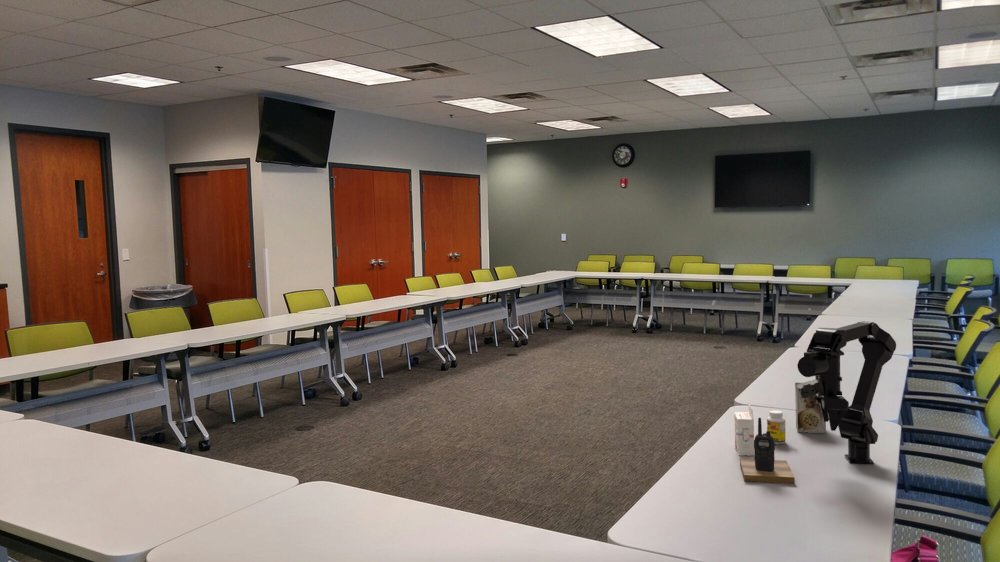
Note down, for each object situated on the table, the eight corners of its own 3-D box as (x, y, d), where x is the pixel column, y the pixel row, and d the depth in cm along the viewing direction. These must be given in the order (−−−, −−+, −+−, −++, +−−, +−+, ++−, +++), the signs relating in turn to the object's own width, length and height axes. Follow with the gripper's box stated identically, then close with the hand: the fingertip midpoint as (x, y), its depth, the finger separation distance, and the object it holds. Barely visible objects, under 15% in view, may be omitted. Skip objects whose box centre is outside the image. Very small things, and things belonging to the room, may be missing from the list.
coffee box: (823, 428, 233) (823, 382, 232) (826, 433, 227) (825, 386, 226) (795, 427, 236) (794, 381, 235) (796, 432, 230) (796, 386, 229)
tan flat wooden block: (739, 465, 200) (739, 458, 200) (786, 467, 197) (786, 460, 197) (744, 482, 187) (744, 474, 187) (794, 484, 184) (794, 477, 183)
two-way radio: (753, 470, 190) (752, 418, 189) (755, 465, 194) (754, 414, 193) (774, 472, 188) (773, 420, 187) (776, 467, 192) (775, 415, 191)
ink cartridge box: (734, 447, 217) (733, 402, 216) (750, 447, 216) (749, 402, 215) (738, 455, 209) (737, 409, 208) (754, 456, 208) (754, 409, 207)
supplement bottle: (763, 441, 222) (763, 410, 221) (776, 438, 224) (775, 408, 223) (776, 445, 216) (776, 414, 216) (789, 443, 219) (789, 412, 218)
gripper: (793, 365, 202) (793, 416, 203) (804, 378, 184) (805, 434, 185) (833, 366, 200) (833, 417, 201) (849, 379, 182) (849, 435, 183)
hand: (829, 425), depth 192 cm, fingers open, 9 cm apart
